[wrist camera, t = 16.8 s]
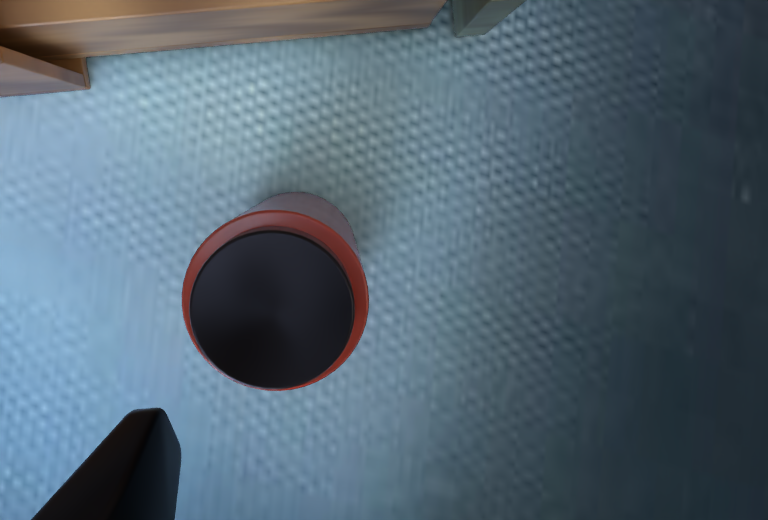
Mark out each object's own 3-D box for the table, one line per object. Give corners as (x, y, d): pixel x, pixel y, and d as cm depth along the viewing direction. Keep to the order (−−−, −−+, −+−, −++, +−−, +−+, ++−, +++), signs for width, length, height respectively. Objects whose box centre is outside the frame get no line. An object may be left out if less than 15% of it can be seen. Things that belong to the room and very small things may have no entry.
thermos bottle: (268, 327, 26) (225, 437, 16) (216, 221, 25) (135, 263, 15) (374, 280, 26) (402, 358, 16) (326, 172, 25) (321, 180, 15)
